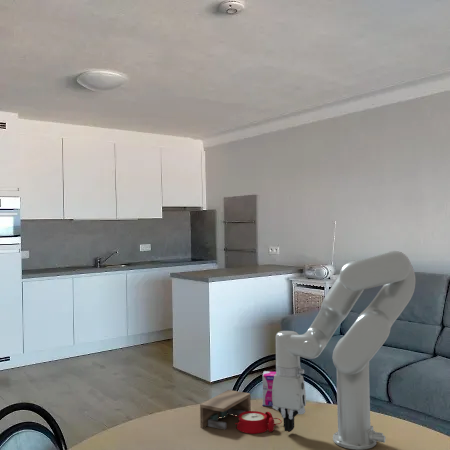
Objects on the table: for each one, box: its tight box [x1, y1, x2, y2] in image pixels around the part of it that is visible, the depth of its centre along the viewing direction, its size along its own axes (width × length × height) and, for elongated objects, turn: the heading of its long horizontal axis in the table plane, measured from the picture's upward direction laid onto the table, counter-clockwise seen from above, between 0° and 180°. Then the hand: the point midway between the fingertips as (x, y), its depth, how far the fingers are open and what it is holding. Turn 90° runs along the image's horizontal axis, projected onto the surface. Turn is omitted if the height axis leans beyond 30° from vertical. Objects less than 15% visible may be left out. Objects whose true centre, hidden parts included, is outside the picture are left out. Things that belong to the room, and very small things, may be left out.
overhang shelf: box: [199, 389, 252, 431], centre depth 163 cm, size 9×18×8 cm, turn 149°
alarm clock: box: [233, 410, 283, 435], centre depth 157 cm, size 10×6×15 cm
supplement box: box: [262, 370, 276, 407], centre depth 180 cm, size 6×6×12 cm
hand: (289, 430), depth 151 cm, fingers closed
